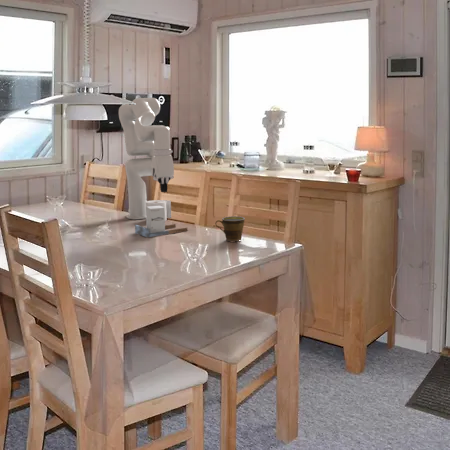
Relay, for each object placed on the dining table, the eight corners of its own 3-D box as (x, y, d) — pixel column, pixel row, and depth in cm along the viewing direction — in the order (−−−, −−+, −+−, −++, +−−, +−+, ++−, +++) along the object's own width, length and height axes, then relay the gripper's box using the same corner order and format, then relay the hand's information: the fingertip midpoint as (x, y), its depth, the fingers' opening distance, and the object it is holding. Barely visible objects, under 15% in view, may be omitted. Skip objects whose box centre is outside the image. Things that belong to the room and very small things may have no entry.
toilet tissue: (142, 221, 321) (141, 202, 319) (155, 217, 331) (155, 199, 329) (159, 223, 316) (158, 203, 314) (172, 219, 326) (171, 200, 324)
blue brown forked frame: (135, 233, 293) (134, 224, 292) (174, 226, 306) (174, 219, 305) (147, 237, 284) (146, 228, 283) (187, 230, 297) (187, 222, 296)
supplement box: (150, 235, 288) (149, 208, 286) (146, 232, 295) (145, 206, 292) (165, 233, 291) (164, 207, 288) (161, 230, 298) (160, 205, 295)
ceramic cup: (244, 237, 280) (243, 216, 278) (245, 242, 270) (245, 220, 268) (215, 238, 279) (215, 216, 277) (216, 243, 270) (215, 221, 268)
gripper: (171, 151, 296) (173, 189, 300) (144, 153, 287) (146, 192, 291) (180, 152, 290) (181, 191, 294) (152, 154, 281) (154, 194, 285)
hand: (164, 191), depth 292 cm, fingers closed
